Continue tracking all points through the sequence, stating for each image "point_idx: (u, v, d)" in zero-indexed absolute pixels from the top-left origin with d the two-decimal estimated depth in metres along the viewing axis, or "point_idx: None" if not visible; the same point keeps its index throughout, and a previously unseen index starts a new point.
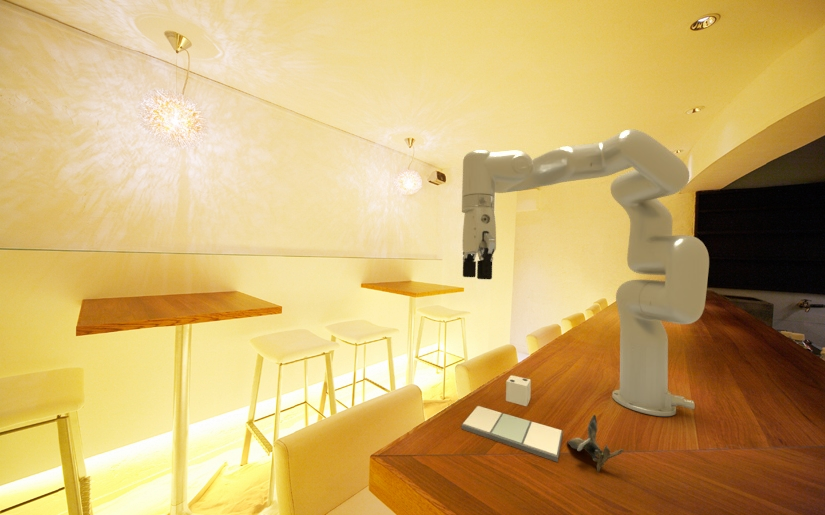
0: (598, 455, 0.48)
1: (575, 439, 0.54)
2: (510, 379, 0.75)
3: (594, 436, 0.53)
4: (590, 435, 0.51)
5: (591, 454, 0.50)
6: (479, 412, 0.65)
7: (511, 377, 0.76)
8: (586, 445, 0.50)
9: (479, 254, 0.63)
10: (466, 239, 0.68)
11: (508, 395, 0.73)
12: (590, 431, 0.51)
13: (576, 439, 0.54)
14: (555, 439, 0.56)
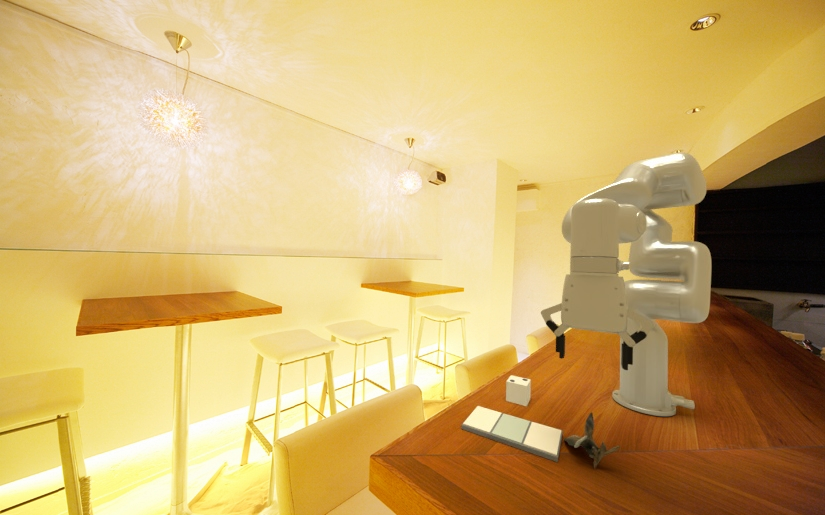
0: (595, 452, 0.49)
1: (572, 436, 0.55)
2: (510, 379, 0.75)
3: (591, 433, 0.54)
4: (587, 432, 0.52)
5: (588, 451, 0.51)
6: (479, 412, 0.65)
7: (511, 377, 0.76)
8: (583, 442, 0.51)
9: (627, 338, 0.49)
10: (587, 313, 0.51)
11: (508, 395, 0.73)
12: (587, 428, 0.52)
13: (573, 436, 0.55)
14: (555, 439, 0.56)
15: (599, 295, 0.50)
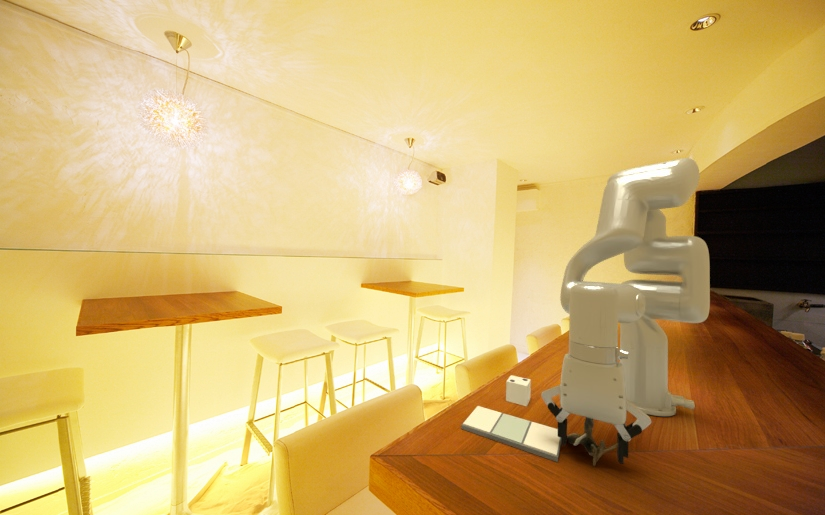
0: (594, 449, 0.50)
1: (572, 434, 0.55)
2: (510, 379, 0.75)
3: (590, 431, 0.55)
4: (586, 430, 0.52)
5: (587, 449, 0.51)
6: (479, 412, 0.65)
7: (511, 377, 0.76)
8: (582, 440, 0.51)
9: (623, 432, 0.49)
10: (586, 401, 0.51)
11: (508, 395, 0.73)
12: (586, 426, 0.53)
13: (573, 434, 0.55)
14: (555, 439, 0.56)
15: (598, 385, 0.50)
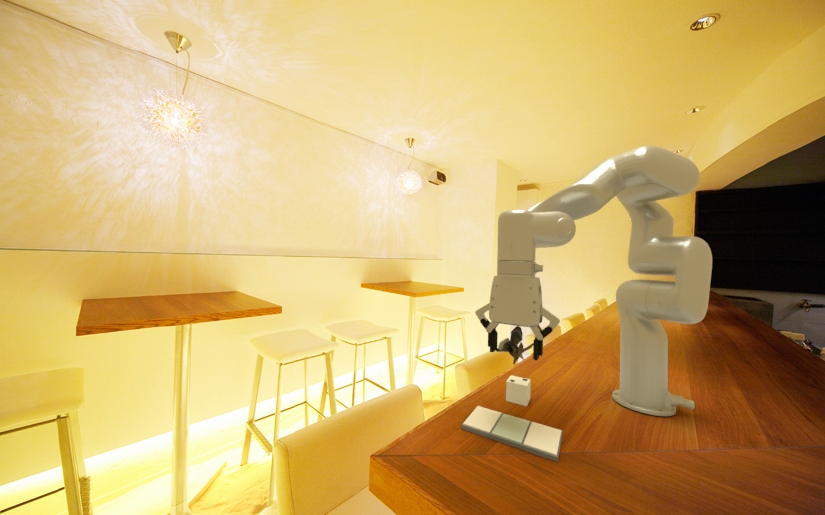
0: (514, 350, 0.58)
1: None
2: (510, 379, 0.75)
3: (517, 342, 0.62)
4: (510, 338, 0.60)
5: (510, 352, 0.59)
6: (479, 412, 0.65)
7: (511, 377, 0.76)
8: (505, 344, 0.59)
9: (537, 332, 0.56)
10: (508, 309, 0.59)
11: (508, 395, 0.73)
12: (511, 335, 0.61)
13: None
14: (555, 439, 0.56)
15: (517, 294, 0.58)
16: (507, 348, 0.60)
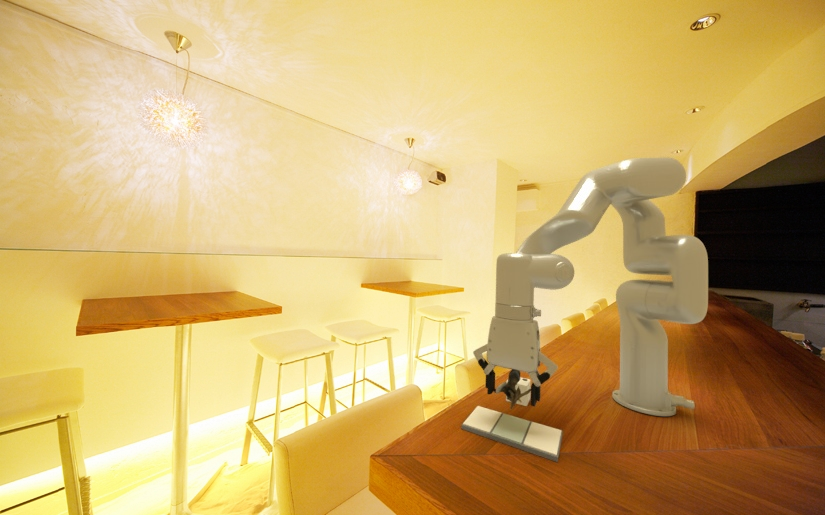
0: (511, 395, 0.57)
1: None
2: None
3: (514, 383, 0.62)
4: (508, 380, 0.60)
5: (507, 396, 0.59)
6: (479, 412, 0.65)
7: None
8: (503, 388, 0.59)
9: (535, 378, 0.56)
10: (506, 353, 0.58)
11: None
12: None
13: None
14: (555, 439, 0.56)
15: (515, 339, 0.57)
16: (504, 391, 0.59)
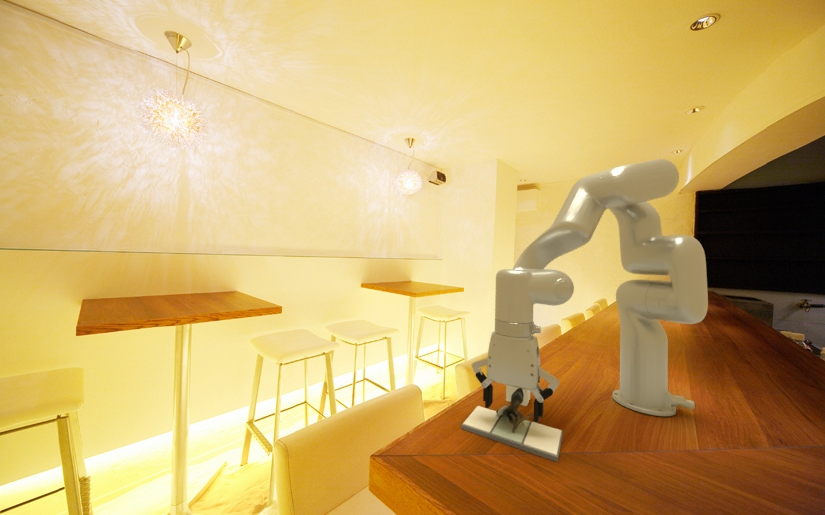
0: (513, 418, 0.57)
1: None
2: None
3: (517, 405, 0.62)
4: (510, 403, 0.60)
5: (509, 418, 0.59)
6: (479, 412, 0.65)
7: None
8: (505, 411, 0.59)
9: (537, 394, 0.56)
10: (506, 370, 0.58)
11: (508, 395, 0.73)
12: (511, 400, 0.60)
13: None
14: (555, 439, 0.56)
15: (515, 356, 0.57)
16: (506, 414, 0.59)
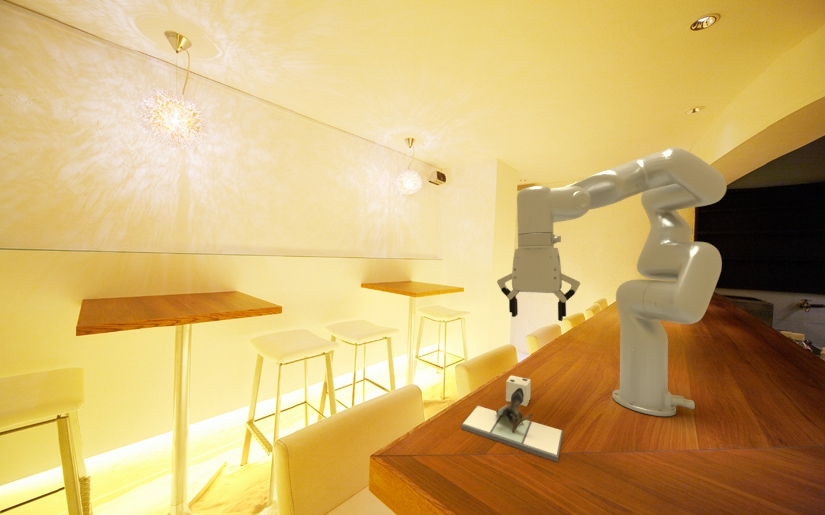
0: (513, 418, 0.57)
1: None
2: (510, 379, 0.75)
3: (517, 405, 0.62)
4: (510, 403, 0.60)
5: (509, 418, 0.59)
6: (479, 412, 0.65)
7: (511, 377, 0.76)
8: (505, 411, 0.59)
9: (561, 296, 0.62)
10: (530, 278, 0.64)
11: (508, 395, 0.73)
12: (511, 400, 0.60)
13: None
14: (555, 439, 0.56)
15: (538, 263, 0.63)
16: (506, 414, 0.59)
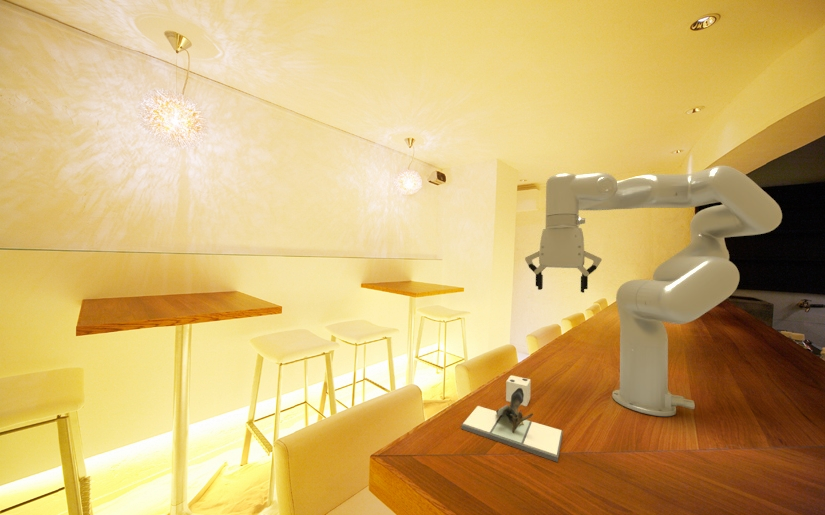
0: (513, 418, 0.57)
1: None
2: (510, 379, 0.75)
3: (517, 405, 0.62)
4: (510, 403, 0.60)
5: (509, 418, 0.59)
6: (479, 412, 0.65)
7: (511, 377, 0.76)
8: (505, 411, 0.59)
9: (584, 270, 0.70)
10: (557, 254, 0.72)
11: (508, 395, 0.73)
12: (511, 400, 0.60)
13: None
14: (555, 439, 0.56)
15: (564, 241, 0.71)
16: (506, 414, 0.59)
